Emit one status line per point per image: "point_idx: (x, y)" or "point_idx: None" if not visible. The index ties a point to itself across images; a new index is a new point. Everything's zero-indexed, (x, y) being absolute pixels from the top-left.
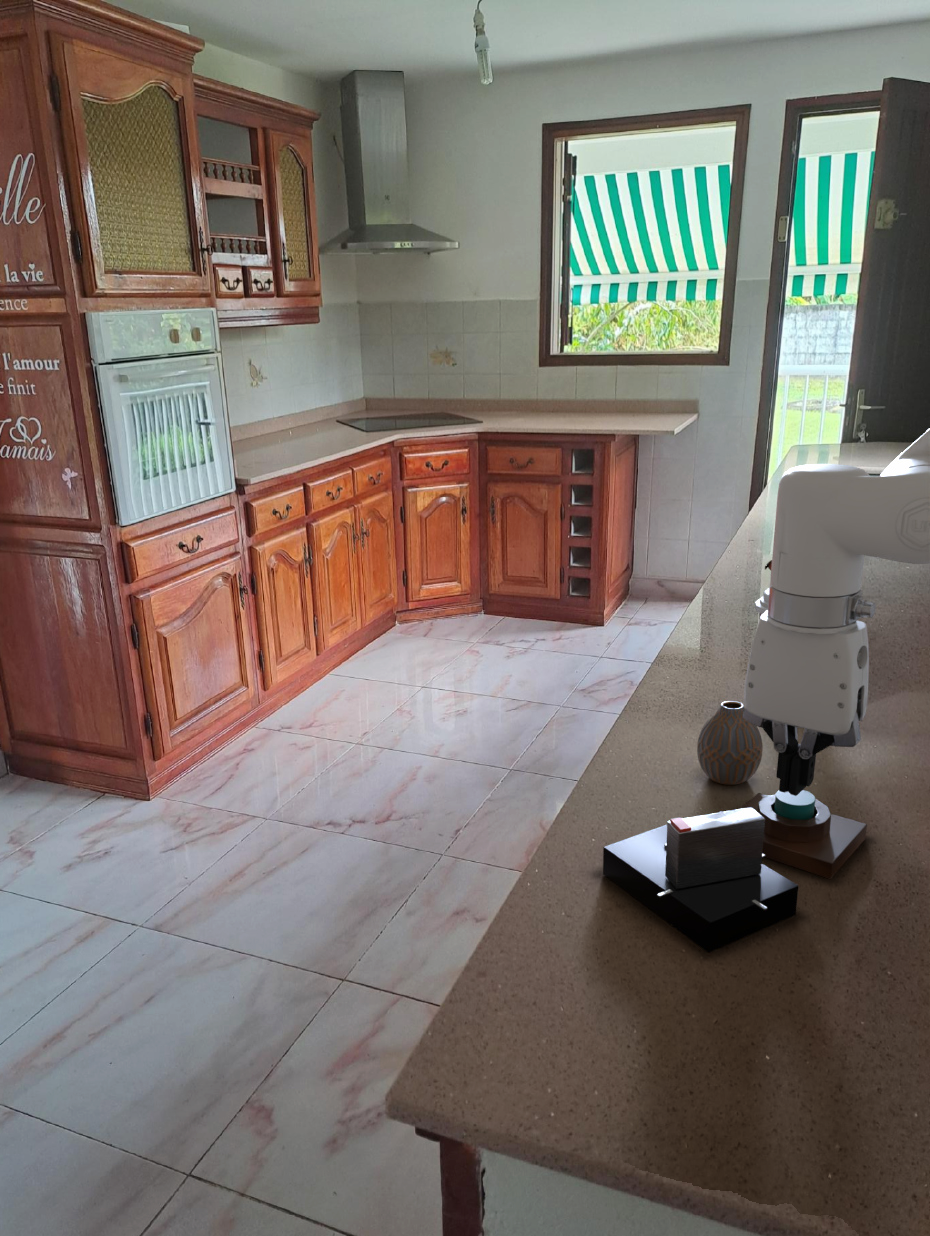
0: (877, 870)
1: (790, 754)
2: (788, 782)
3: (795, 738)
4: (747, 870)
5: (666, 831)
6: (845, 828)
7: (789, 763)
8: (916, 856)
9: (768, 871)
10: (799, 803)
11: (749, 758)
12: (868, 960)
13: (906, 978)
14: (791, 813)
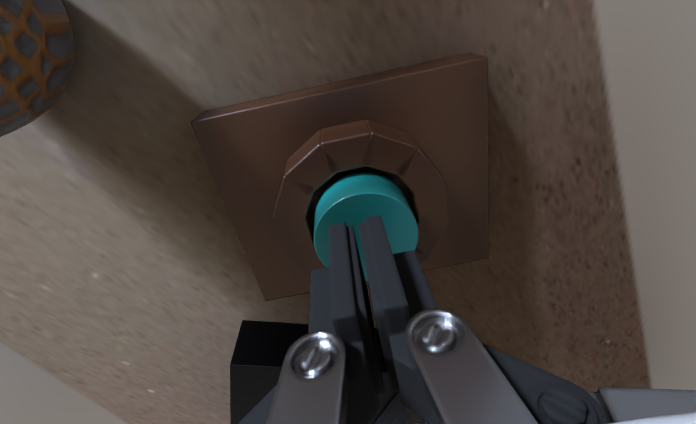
0: (533, 152)
1: (374, 387)
2: (371, 312)
3: (351, 381)
4: None
5: (249, 407)
6: (454, 121)
7: (382, 376)
8: (591, 33)
9: None
10: None
11: (36, 59)
12: (582, 340)
13: (628, 336)
14: None
